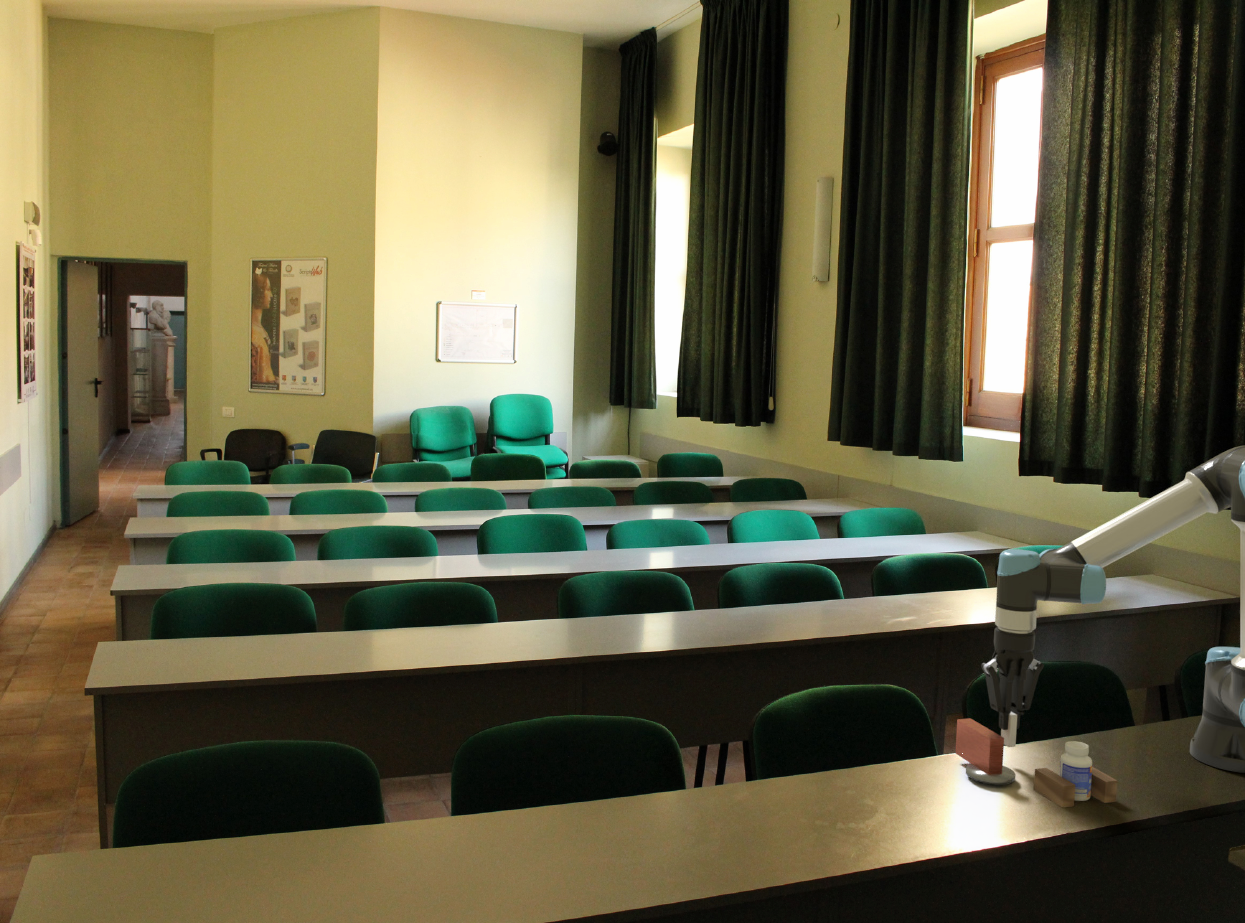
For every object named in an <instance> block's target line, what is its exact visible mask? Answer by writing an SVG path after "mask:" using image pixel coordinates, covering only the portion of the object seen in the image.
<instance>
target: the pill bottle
mask: <svg viewBox="0 0 1245 923" xmlns="http://www.w3.org/2000/svg"><path fill="white" fill-rule="evenodd" d="M1064 745H1065V746H1064V751H1065V752H1064V753H1062V754H1061V756H1060V763H1059V764H1060V766H1059V776H1061V777H1063V778H1065V779H1066V780H1068V781H1070V782H1071V783H1073V784H1075V799H1074V802H1075V801H1076V802H1085V801H1088V800H1090V799H1091V796H1092V795H1091V779H1092V767H1093V759H1092V758H1091V757H1090V756H1088V755H1089V748H1090V746H1089V744H1086V743H1084V742H1083V741H1082V742H1081V741H1075V740H1071V741H1069V740H1068V741H1066V742H1065V744H1064Z"/></svg>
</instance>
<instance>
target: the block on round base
mask: <svg viewBox="0 0 1245 923" xmlns="http://www.w3.org/2000/svg"><path fill="white" fill-rule="evenodd" d="M955 738H956V740H955V754H956V755H957V756H959V757H961V758H962V759H963V760H964V761H967V762H968V763H969V764H967V765H966V766H965V774H966V776H967V777H969V778H970V779H972V780H974V781H976V782H980V783H983V784H987V785H993V786H995V785H996V786H999V785H1000V786H1003V785H1010V784H1012V783H1014V782H1015V781H1016V773H1015V771H1014V770H1012V769H1011V768H1010V767H1007V766H1005V765H1003V763H1004V762H1003V761H1004V748H1005V747H1004V746H1005V745H1004V738H1003V737H1002V736H1001V734H998V733H996V732H995V731H993V730H991V729H989V727H986V726H984V725H982V724H981V723H979V722H977V721H975V720H974V719H972V718H960V719H959V718H957V722H956V736H955ZM962 753H963V754H962Z"/></svg>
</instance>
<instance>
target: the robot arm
mask: <svg viewBox="0 0 1245 923" xmlns="http://www.w3.org/2000/svg"><path fill="white" fill-rule="evenodd" d="M1228 508H1230V520H1231V522H1232V523H1233V524H1234V525H1236V526H1237V528H1239V530H1240V533H1239V534H1240V535H1239V536H1240V541H1239V542H1240V543H1239V544H1240V547H1239V548H1240V553H1239V554H1240V555H1239V556H1240V557H1239V560H1240V561H1239V562H1240V563H1239V564H1240V567H1239V568H1240V572H1239V573H1240V575H1239V577H1240V578H1239V579H1240V584H1239V585H1240V588H1239V590H1240V591H1239V592H1240V593H1239V594H1240V596H1239V597H1240V598H1239V599H1240V601H1239V602H1240V608H1239V609H1240V610H1239V614H1240V622H1239V623H1240V625H1239V626H1240V627H1239V628H1240V631H1239V632H1240V635H1239V637H1240V638H1239V640H1240V641H1239V643H1240V644H1239V645H1240V647H1235V646H1215V647H1212V648H1209V650H1208V651H1207V654H1206V661H1205V662H1204V664H1205V673H1204V689H1203V700H1202V702H1203V703H1202V716H1201V719H1200V721H1199V723H1198V725H1197V726H1196V727H1197V728H1196V730H1195V732H1194V735H1193V736H1192V738H1191V740H1190V745H1189V753H1190V755H1191V757H1193V758H1194V759H1196V760H1197V761H1199V762H1201V763H1203V764H1206V765H1208V766H1211V767H1214V768H1216V769H1221V770H1225V771H1230V772H1233V773H1241V774H1245V445H1240V446H1235V447H1233V448H1230V449H1227V450H1226V451H1224V452H1221V453H1219V454H1218V455H1216V456H1214V457H1213V458H1210V459H1209V460H1206V461H1205V462H1204V463H1201V464H1200V465H1198V466H1196V467H1195V468H1193V469H1191V470H1188V471H1187V472H1186V473H1185V477H1184V479H1183V480H1182V481H1180V482H1178V483H1176V484H1174V485H1173V486H1170V487H1168V488H1166V489H1165V490H1163V491H1162V492H1160V493H1158V494H1156V495H1154V496H1152V497H1151V498H1148V499H1147V500H1145V501H1143V502H1142V503H1140V504H1138V505H1135V506H1134V507H1132V508H1131V509H1128V510H1127V511H1125V512H1123V513H1121V514H1120V515H1117V516H1116V517H1114V518H1112V519H1110V520H1109V521H1107V522H1105V523H1103V524H1101V525H1099V526H1098V527H1096V528H1094V529H1092V530H1090V531H1088V532H1086V533H1085V534H1082V535H1081V536H1080V537H1078V538H1077V537H1076V539H1074V540H1071V542H1068V543H1066V544H1064V545H1062V546H1060V547H1058V548H1048V549H1045V550H1043V551H1042V552H1040V553H1038V552H1037V551H1035V550H1030V549H1029V550H1028V549H1027V550H1026V549H1021V548H1020V549H1018V548H1010V549H1005V550H1003V551H1002V552H1000V554H999V560H998V567H997V570H996V574H997V576H996V577H997V578H996V580H997V582H996V601H995V616H994V618H995V619H994V625H995V626H996V627H995V628H994V629H993V630H994V631H993V632H994V634H993V635H994V636H993V646H994V652H993V654H992V659H991V660H989V661H988V662H987V663H986V662H983V663H981V664H980V667H981V669H982V671H983V672H984V676H985V681H986V688H987V694H988V699H989V706H990V708H991V709H993V710H994V711H996V712H998V727H999V729H1001V730H1000V736H1002V737H1003V738H1004V746H1006V747H1007V748H1014V747H1015V748H1016V742H1017V729H1020V723H1021V722H1020V720H1021V716H1023V715H1025V711H1029V710H1030V709H1031V705H1032V702H1033V698H1034V695H1035V691H1036V686H1037V683H1038V680H1039V675H1040V673H1041V672H1042V671H1043V669H1044V667H1045V665H1044V663H1043V662H1041V661H1040V660H1039V661H1038V660H1037V659H1035V655H1034V653H1033V650H1034V649H1035V645H1036V644H1035V643H1036V642H1035V641H1036V632H1035V631H1034V630H1036V628H1037V612H1038V610H1037V609H1038V602H1039V601H1042V602H1056V603H1057V602H1059V603H1068V604H1069V603H1071V604H1082V605H1087V604H1089V605H1090V604H1093V605H1094V604H1095V605H1096V604H1100V603H1102V602H1103V600H1104V599H1105V596H1106V591H1107V577H1106V572H1105V570H1104V568H1105V567H1107V566H1110V564H1112V563H1114V562H1116V561H1119V559H1122V558H1124V557H1125V556H1128V555H1129V554H1131V553H1133V552H1135V551H1137V550H1139V549H1141V548H1142V547H1144V546H1146V545H1148V544H1150V543H1151V542H1154V541H1156V540H1157V539H1160V538H1162V537H1163V536H1165V535H1167V534H1169V533H1171V532H1173V531H1175V530H1177V529H1179V528H1180V527H1182V526H1184V525H1186V524H1187V523H1191V522H1192V521H1193V520H1195V519H1197V518H1199V517H1201V516H1202V515H1205V514H1207V513H1211V514H1214V515H1216V514H1218V513H1220V512H1222V511H1224V510H1225V509H1228Z"/></svg>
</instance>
